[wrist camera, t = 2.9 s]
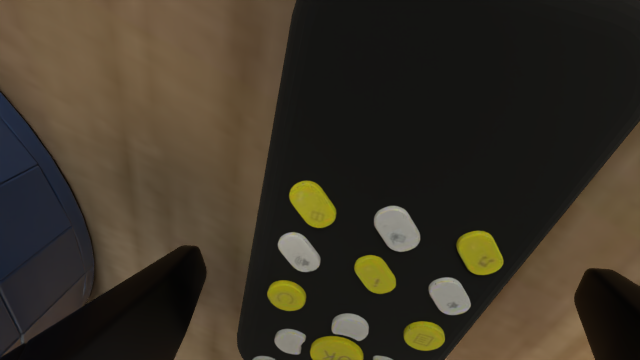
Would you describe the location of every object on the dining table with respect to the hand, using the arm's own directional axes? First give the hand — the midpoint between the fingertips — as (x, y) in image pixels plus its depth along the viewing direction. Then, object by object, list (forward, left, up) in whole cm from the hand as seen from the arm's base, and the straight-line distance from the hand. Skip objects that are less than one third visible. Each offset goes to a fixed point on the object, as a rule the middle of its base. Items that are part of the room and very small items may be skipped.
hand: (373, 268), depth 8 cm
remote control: (0, 0, -2) cm, 2 cm away
